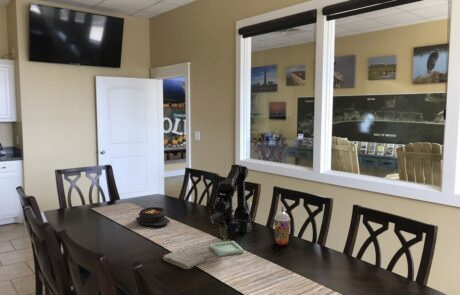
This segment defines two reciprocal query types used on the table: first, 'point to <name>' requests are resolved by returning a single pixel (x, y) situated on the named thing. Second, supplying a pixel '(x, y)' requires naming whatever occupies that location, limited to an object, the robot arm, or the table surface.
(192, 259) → the washcloth
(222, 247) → the tray
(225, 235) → the cup
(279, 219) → the smoothie
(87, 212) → the table surface
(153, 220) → the casserole
